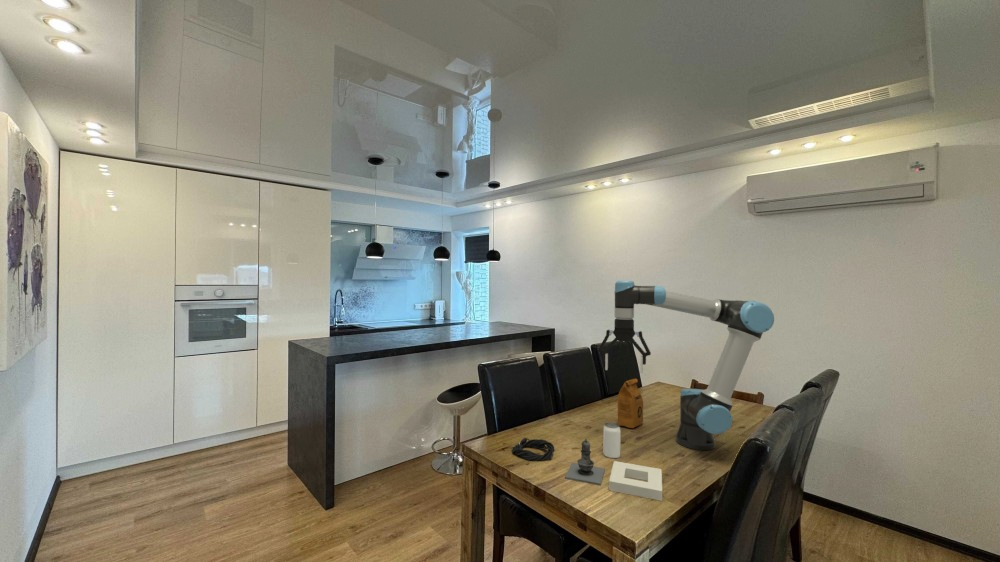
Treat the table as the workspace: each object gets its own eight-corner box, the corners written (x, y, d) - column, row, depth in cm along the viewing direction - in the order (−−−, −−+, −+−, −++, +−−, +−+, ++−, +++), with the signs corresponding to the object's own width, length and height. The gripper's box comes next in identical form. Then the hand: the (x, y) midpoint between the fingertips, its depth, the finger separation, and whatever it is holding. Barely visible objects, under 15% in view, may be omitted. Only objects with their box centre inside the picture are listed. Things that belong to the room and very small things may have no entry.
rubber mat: (604, 470, 140) (604, 468, 140) (600, 485, 129) (600, 483, 129) (571, 464, 145) (571, 462, 145) (565, 478, 134) (565, 476, 134)
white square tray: (661, 477, 135) (661, 469, 135) (662, 500, 120) (662, 491, 120) (613, 469, 141) (614, 460, 141) (609, 490, 126) (609, 481, 126)
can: (617, 460, 148) (617, 428, 149) (601, 456, 152) (601, 425, 152) (622, 454, 154) (622, 424, 154) (605, 450, 157) (606, 420, 158)
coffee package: (646, 425, 188) (647, 379, 188) (633, 431, 179) (633, 383, 180) (628, 419, 195) (628, 376, 196) (614, 425, 187) (614, 379, 187)
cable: (561, 456, 152) (561, 445, 152) (538, 467, 142) (538, 455, 143) (529, 443, 165) (529, 433, 165) (505, 452, 155) (505, 441, 155)
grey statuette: (575, 468, 140) (575, 435, 140) (591, 468, 140) (591, 435, 140) (579, 476, 134) (580, 441, 134) (596, 476, 134) (596, 441, 135)
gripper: (657, 319, 156) (656, 371, 156) (594, 316, 165) (593, 366, 165) (657, 320, 149) (657, 375, 149) (591, 318, 158) (591, 370, 158)
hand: (623, 371), depth 157 cm, fingers open, 13 cm apart
